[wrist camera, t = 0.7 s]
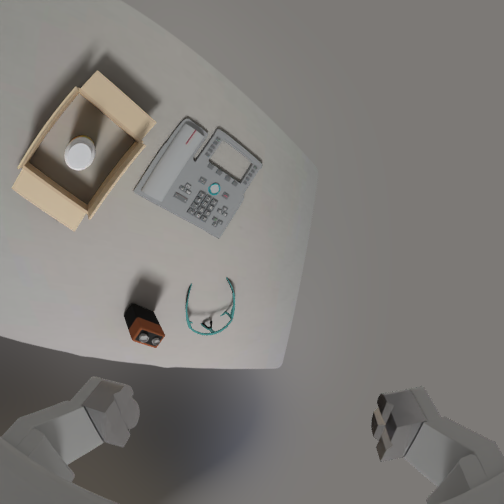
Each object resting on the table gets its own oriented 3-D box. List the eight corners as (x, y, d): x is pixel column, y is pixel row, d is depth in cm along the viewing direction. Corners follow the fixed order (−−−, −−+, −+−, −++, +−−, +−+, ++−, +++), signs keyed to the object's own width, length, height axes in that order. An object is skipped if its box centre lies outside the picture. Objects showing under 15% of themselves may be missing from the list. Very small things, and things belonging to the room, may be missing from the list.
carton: (14, 182, 35) (3, 192, 29) (94, 72, 35) (96, 64, 29) (76, 225, 46) (76, 241, 40) (153, 124, 46) (164, 124, 40)
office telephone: (133, 194, 48) (192, 105, 47) (131, 191, 50) (187, 106, 49) (221, 241, 64) (269, 167, 62) (216, 236, 66) (263, 165, 64)
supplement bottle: (97, 136, 41) (99, 140, 34) (91, 165, 43) (92, 175, 36) (70, 133, 38) (66, 136, 31) (64, 163, 40) (60, 172, 33)
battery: (131, 301, 60) (142, 329, 52) (154, 311, 64) (167, 338, 57) (122, 315, 60) (132, 343, 52) (145, 324, 64) (157, 351, 57)
